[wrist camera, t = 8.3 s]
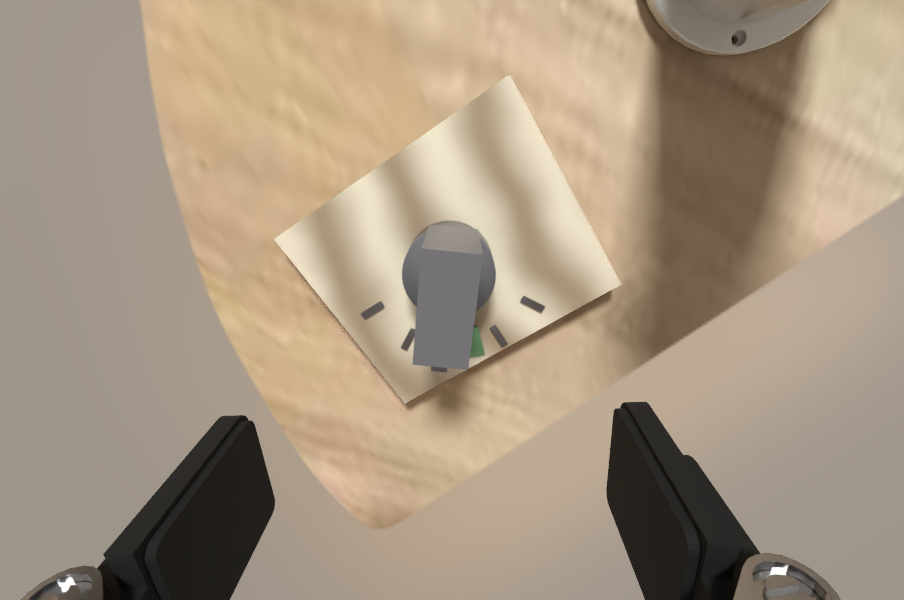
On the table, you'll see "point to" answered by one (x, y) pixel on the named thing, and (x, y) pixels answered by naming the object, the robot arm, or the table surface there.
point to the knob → (447, 291)
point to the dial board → (464, 200)
